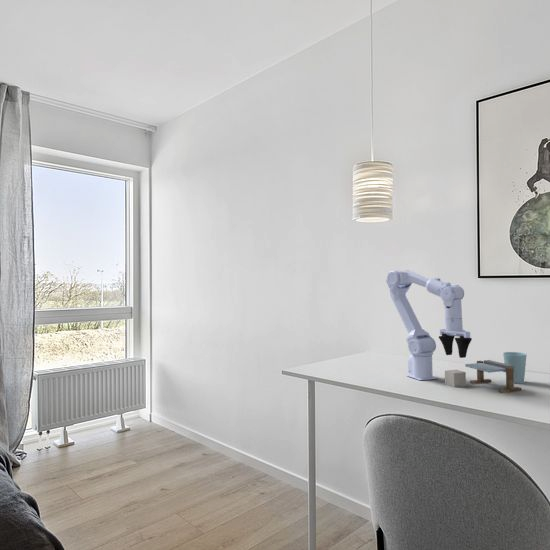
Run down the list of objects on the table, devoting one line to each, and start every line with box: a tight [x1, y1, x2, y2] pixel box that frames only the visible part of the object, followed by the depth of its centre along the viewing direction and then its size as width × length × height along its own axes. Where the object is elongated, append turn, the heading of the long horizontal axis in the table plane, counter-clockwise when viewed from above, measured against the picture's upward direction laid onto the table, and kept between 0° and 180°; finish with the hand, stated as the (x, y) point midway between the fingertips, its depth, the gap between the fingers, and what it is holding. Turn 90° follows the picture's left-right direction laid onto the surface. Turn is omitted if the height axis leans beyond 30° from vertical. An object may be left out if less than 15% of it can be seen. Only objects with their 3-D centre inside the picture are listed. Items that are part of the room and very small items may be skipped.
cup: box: [502, 351, 527, 384], centre depth 167 cm, size 8×8×10 cm
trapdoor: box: [464, 359, 514, 373], centre depth 161 cm, size 12×10×2 cm
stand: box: [469, 360, 523, 393], centre depth 161 cm, size 16×8×8 cm, turn 16°
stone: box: [444, 369, 467, 388], centre depth 165 cm, size 5×5×5 cm
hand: (455, 356), depth 164 cm, fingers open, 7 cm apart
